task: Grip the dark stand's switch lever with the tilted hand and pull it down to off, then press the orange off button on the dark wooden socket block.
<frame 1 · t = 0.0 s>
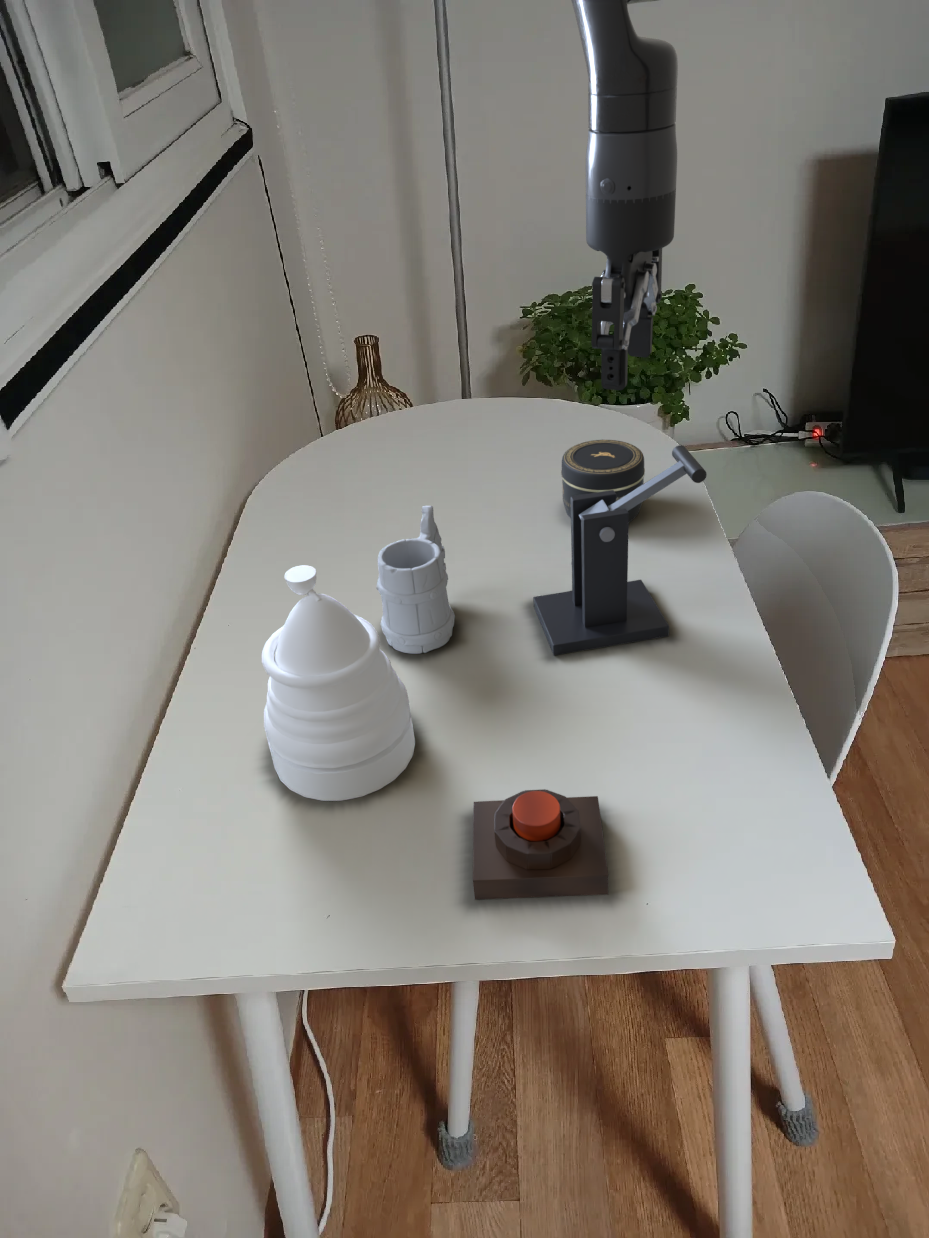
hand: (627, 371, 89), 25 cm above the table, tool pointing down, fingers open, 8 cm apart
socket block: (538, 855, 75), on the table
jar: (602, 513, 118), on the table
dark stand: (599, 621, 100), on the table
off button: (536, 815, 72), point 4 cm above the table, slide at 0.1 cm
switch lever: (640, 494, 92), point 14 cm above the table, hinge at 28.0°
mug: (426, 624, 102), on the table
honey pot: (345, 750, 87), on the table
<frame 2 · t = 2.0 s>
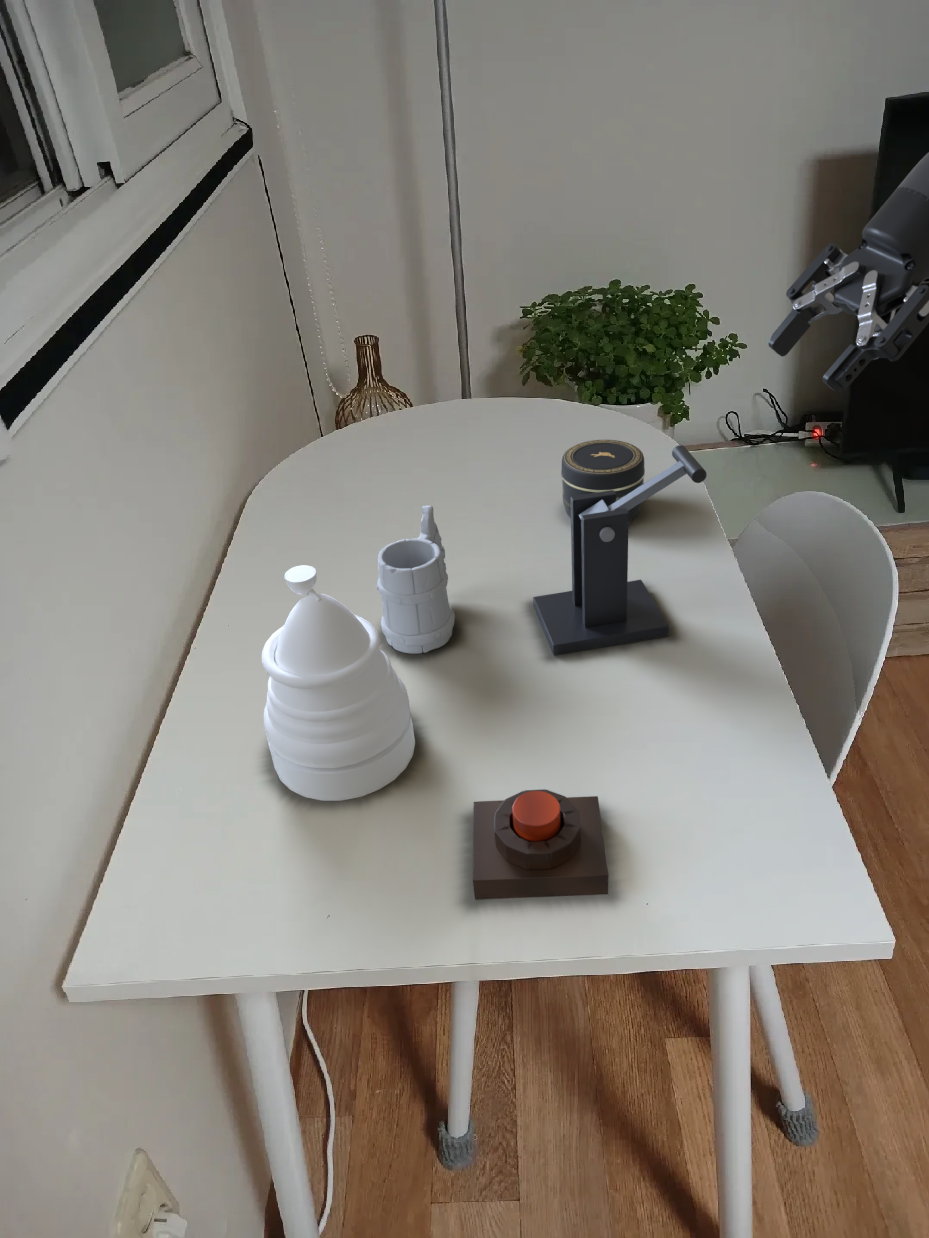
hand: (801, 368, 87), 25 cm above the table, tool tilted 40°, fingers open, 8 cm apart
nothing on the table moved.
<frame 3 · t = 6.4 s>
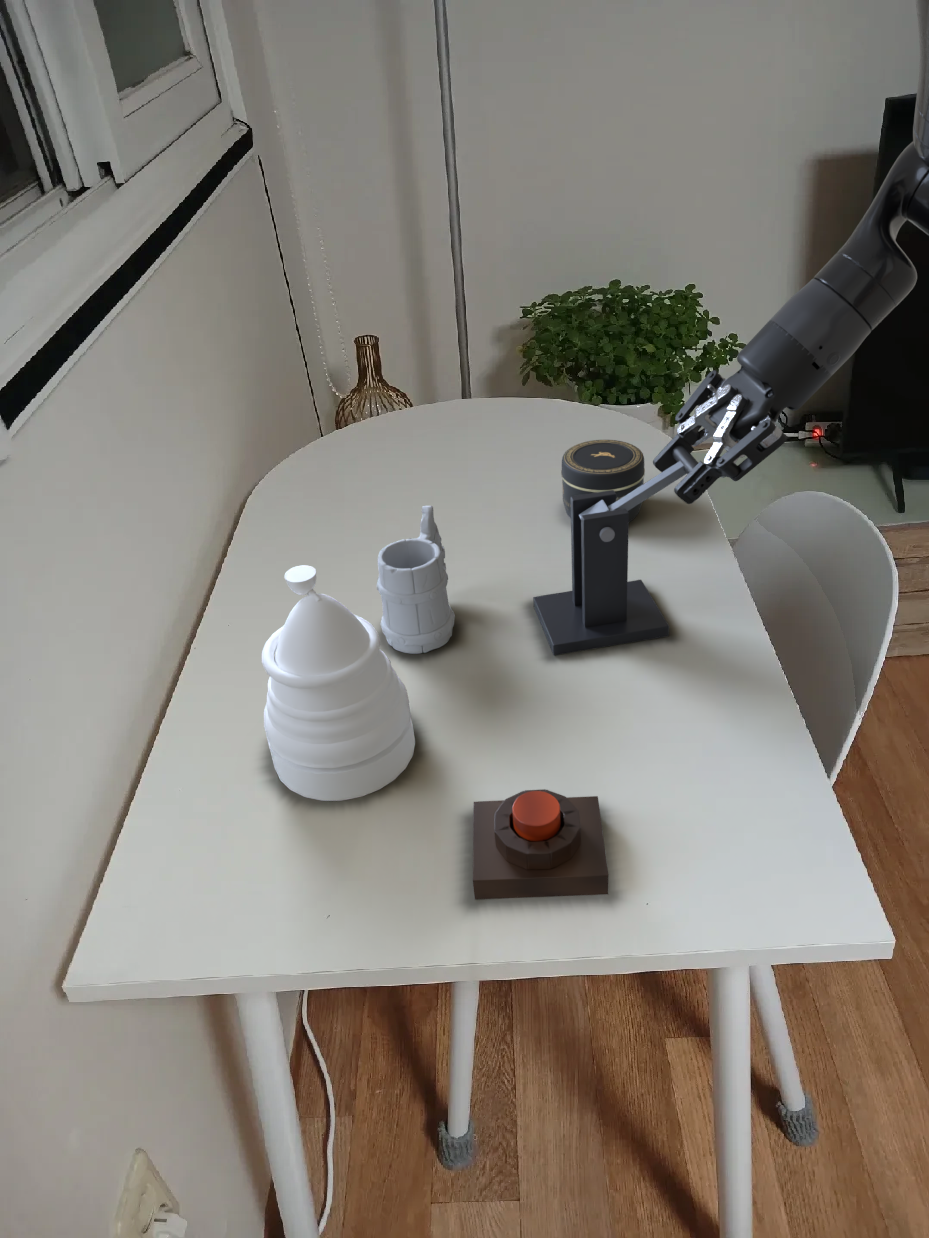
hand: (670, 483, 92), 15 cm above the table, tool tilted 45°, fingers closed on switch lever, 5 cm apart
switch lever: (640, 494, 92), point 14 cm above the table, hinge at 27.9°, touching gripper
everything else where it was.
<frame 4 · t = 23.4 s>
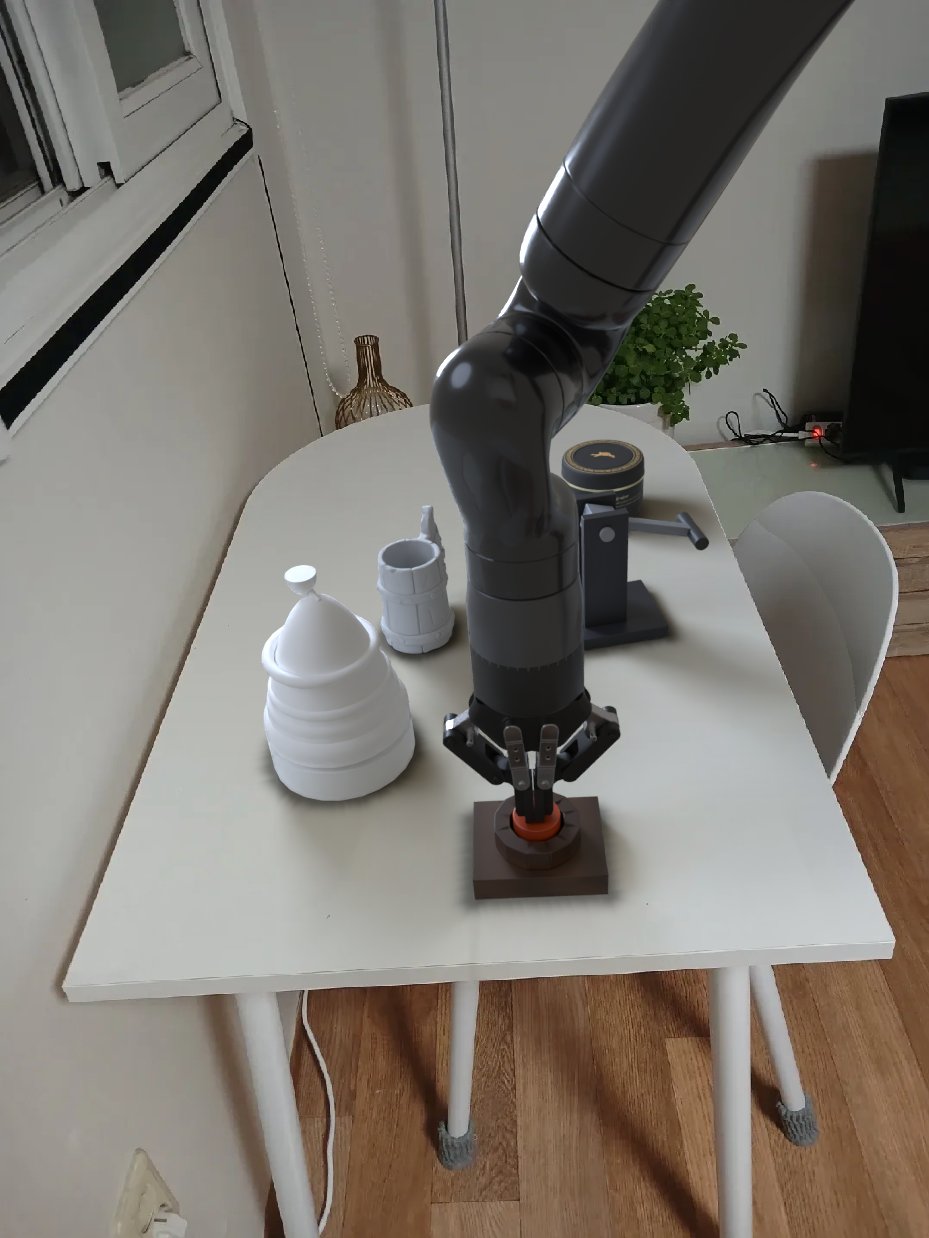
hand: (534, 814, 72), 5 cm above the table, tool pointing down, fingers closed
off button: (536, 821, 72), point 4 cm above the table, slide at -0.5 cm, touching gripper
switch lever: (643, 525, 94), point 11 cm above the table, hinge at -16.3°
everything else where it was.
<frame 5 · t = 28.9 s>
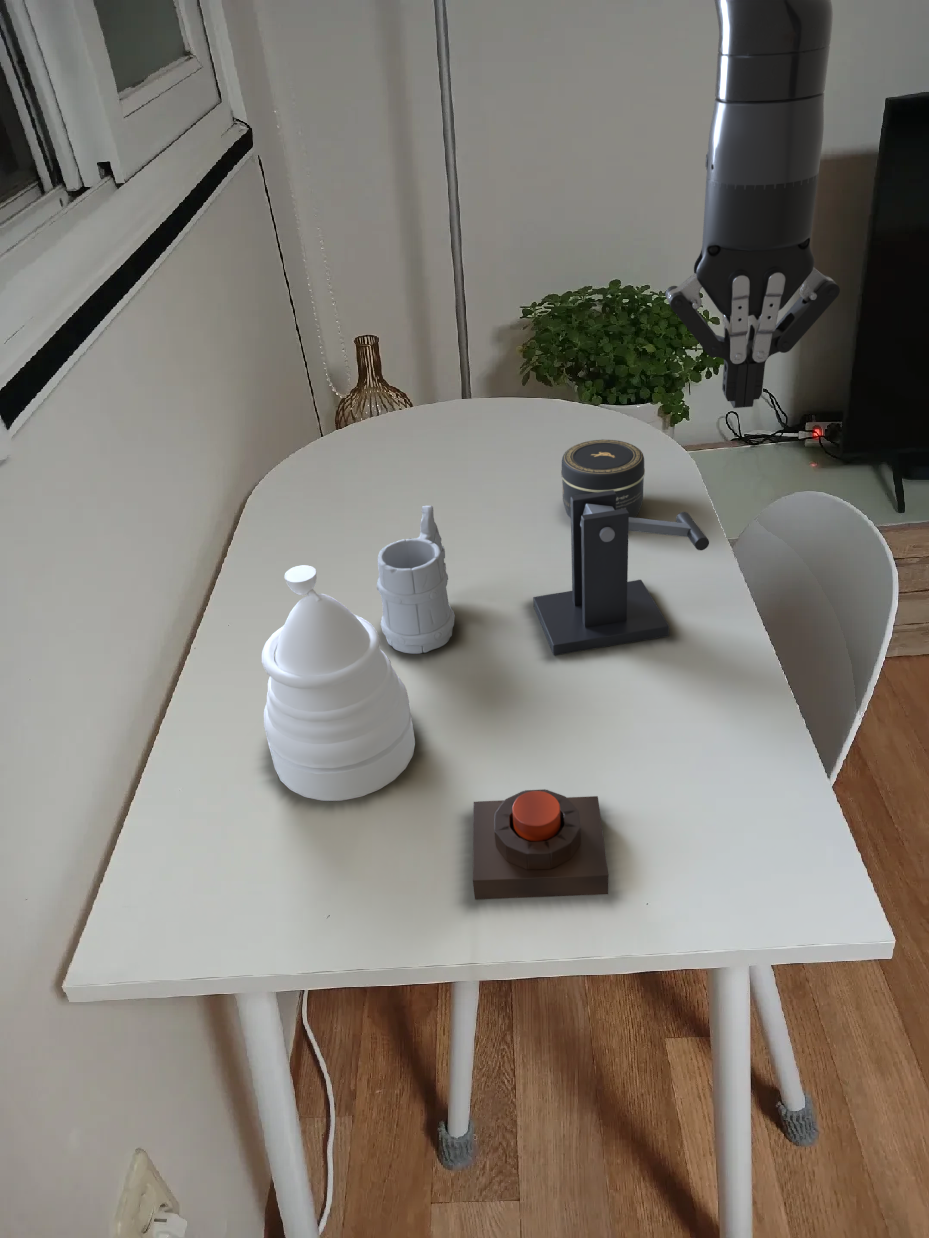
hand: (741, 403, 76), 27 cm above the table, tool pointing down, fingers closed
off button: (536, 815, 72), point 4 cm above the table, slide at 0.1 cm
everything else where it was.
at the end: switch lever at -16° (first picture: +28°); off button pushed in 1.1 cm at the most during the clip, back to where it started at the end; off button slide at 0.1 cm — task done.
